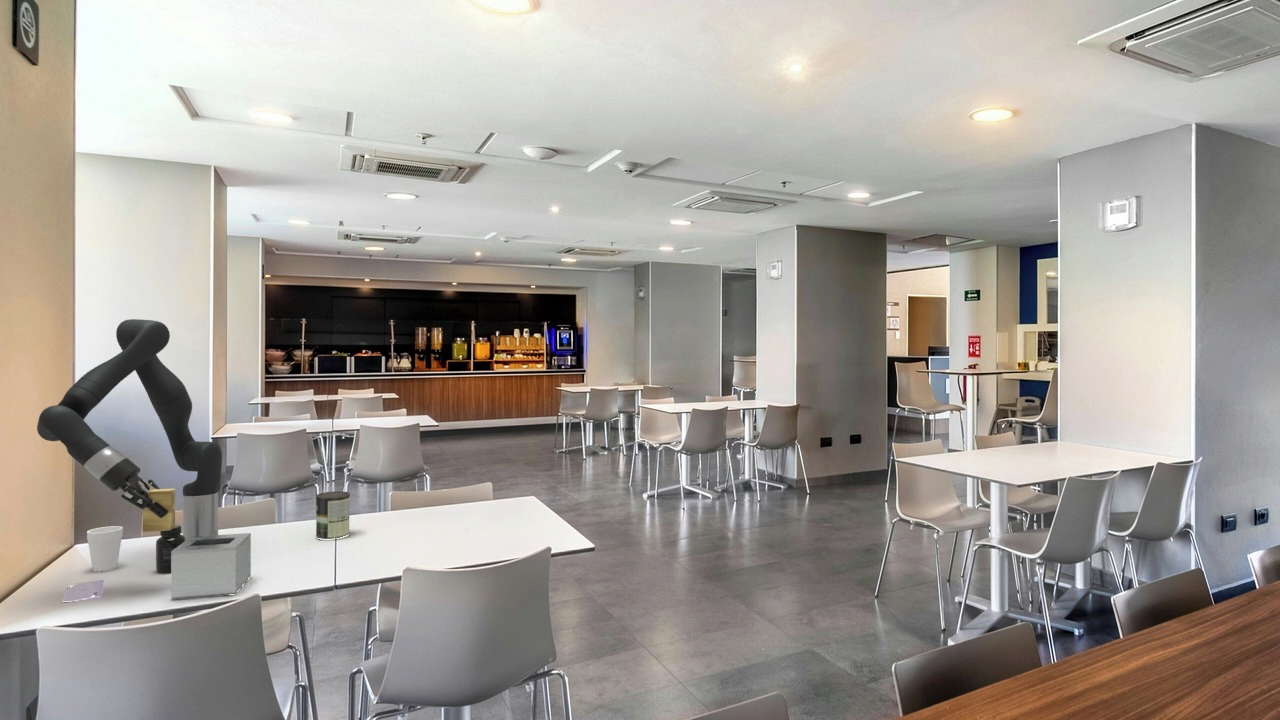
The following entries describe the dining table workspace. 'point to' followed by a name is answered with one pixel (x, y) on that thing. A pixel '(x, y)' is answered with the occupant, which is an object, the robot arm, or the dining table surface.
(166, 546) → the supplement bottle
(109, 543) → the foam cup
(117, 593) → the dining table surface
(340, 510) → the coffee can
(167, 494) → the plaque
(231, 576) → the coin box
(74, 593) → the mobile phone
